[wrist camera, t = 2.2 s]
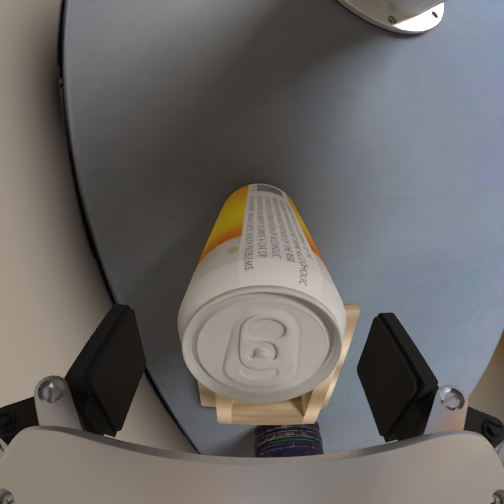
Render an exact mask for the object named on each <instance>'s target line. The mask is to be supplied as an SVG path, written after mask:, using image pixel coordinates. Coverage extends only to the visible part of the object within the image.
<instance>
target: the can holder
mask: <svg viewBox="0 0 504 504" xmlns="http://www.w3.org/2000/svg"><path fill="white" fill-rule="evenodd" d="M344 309H345V313H346V329H345V334H344V338H343V348H342V354H341V357H340V360H339V362H338V364H337V366H336V368H335V369H334V371H333V372H332V373H331V375H330V376H329V377H328V378H327V379H326V380H325V381H324V382H322V383H321V384H320V385H319V386H317V387H316V388H314V389H313V390H311V391H309V392H307V393H305V394H303V395H301V396H298V397H295V398H292V399H289V400H285V401H280V402H273V403H248V402H242V401H237V400H233V399H229V398H226V397H224V396H221V395H219V394H217V393H215V392H213V391H211V390H210V389H208V388H206V387H205V386H204V385H202V384H201V383H200V382H199V381H198V387H199V393H200V399H201V405H202V406H209V407H216V408H217V418H218V423H227V424H246V425H296V424H314V423H315V421H316V419H317V417H318V414H319V412H320V409H321V408H326V406H327V404H328V402H329V399H330V397H331V394H332V392H333V389H334V387H335V384H336V381H337V379H338V376H339V374H340V371H341V368H342V365H343V362H344V360H345V357H346V354H347V351H348V348H349V345H350V342H351V339H352V336H353V333H354V329H355V326H356V323H357V320H358V316H359V313H360V309H359V307H358V305H344Z"/></svg>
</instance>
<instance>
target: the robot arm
mask: <svg viewBox="0 0 504 504" xmlns="http://www.w3.org/2000/svg"><path fill="white" fill-rule="evenodd" d="M338 1H339V2H340V3H341V4H342V5H344V6H345V7H346V8H348V9H349V10H350V11H352V12H353V13H355V14H356V15H358V16H360V17H361V18H363V19H364V20H366V21H368V22H370V23H372V24H375V25H377V26H379V27H381V28H384V29H387V30H390V31H393V32H398V33H403V34H418V33H423V32H425V31H428V30H430V29H432V28H434V27H435V26H437V25H438V24H439V22H440V21H441V19H442V16H443V12H444V4H443V3H444V2H446V1H448V0H338ZM145 366H146V359H145V355H144V351H143V347H142V343H141V339H140V335H139V331H138V326H137V322H136V317H135V313H134V310H133V309H130V307H129V306H128V305H122V304H114V305H113V306H112V308H111V309H110V311H109V312H108V313H107V315H106V316H105V317H104V319H103V320H102V322H101V323H100V324H99V326H98V327H97V329H96V330H95V332H94V333H93V335H92V336H91V337H90V339H89V340H88V342H87V343H86V345H85V346H84V348H83V349H82V351H81V352H80V354H79V355H78V357H77V358H76V360H75V362H74V363H73V365H72V366H71V368H70V369H69V371H68V372H67V375H66V376H65V378H62V377H60V376H48V377H46V378H44V379H42V380H41V381H39V383H38V384H37V385H36V387H35V390H34V397H31V398H28V399H25V400H22V401H19V402H16V403H13V404H10V405H7V406H4V407H1V408H0V504H504V425H503V423H502V422H501V421H500V420H499V419H497V418H496V417H493V416H491V415H488V414H485V413H483V412H480V411H478V410H475V409H473V408H471V407H468V399H467V396H466V394H465V393H464V392H463V391H462V390H461V389H460V388H458V387H456V386H453V385H444V386H441V387H440V388H439V387H438V385H437V384H438V381H437V379H436V377H435V376H434V374H433V372H432V371H431V369H430V367H429V366H428V364H427V363H426V361H425V359H424V358H423V356H422V355H421V353H420V352H419V350H418V349H417V347H416V345H415V344H414V342H413V341H412V339H411V338H410V336H409V335H408V333H407V332H406V330H405V329H404V328H403V326H402V325H401V323H400V322H399V320H398V319H397V317H396V316H395V315H394V313H380V314H378V316H377V317H375V318H374V319H373V322H372V325H371V329H370V332H369V335H368V338H367V340H366V343H365V346H364V349H363V352H362V355H361V357H360V360H359V363H358V366H357V373H358V376H359V378H360V381H361V384H362V386H363V389H364V392H365V394H366V397H367V400H368V403H369V405H370V408H371V411H372V414H373V417H374V420H375V422H376V425H377V428H378V431H379V434H380V435H381V436H384V439H385V442H389V441H393V440H397V439H398V441H396V442H392V443H388V444H383V445H378V446H373V447H368V448H363V449H357V450H351V451H345V452H338V453H330V454H322V455H311V456H298V457H277V458H245V457H224V456H211V455H200V454H191V453H184V452H176V451H170V450H164V449H158V448H153V447H148V446H143V445H139V444H134V443H129V442H125V441H120V440H116V439H113V438H109V437H105V436H103V435H104V434H106V435H109V436H113V437H115V436H116V433H117V431H120V430H121V429H122V427H123V424H124V421H125V418H126V416H127V413H128V410H129V408H130V405H131V402H132V400H133V397H134V395H135V392H136V389H137V387H138V384H139V381H140V379H141V377H142V374H143V372H144V369H145Z"/></svg>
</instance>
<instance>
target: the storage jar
mask: <svg viewBox="0 0 504 504" xmlns="http://www.w3.org/2000/svg"><path fill="white" fill-rule="evenodd" d="M255 436H256V439H255V445H254V452H255V458H277V457H298V456H311V455H322V454H323V448H322V447H323V443H322V438H321V436H320V432H319V424H318V422H317V421H315V423H314V424H296V425H259V426H258V427H257V428H256V431H255Z"/></svg>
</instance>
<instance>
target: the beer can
mask: <svg viewBox="0 0 504 504" xmlns="http://www.w3.org/2000/svg"><path fill="white" fill-rule="evenodd" d="M177 326H178V334H179V338H180V341H181V344H182V354H183V358H184V361H185V363H186V366H187V367H188V369H189V371H190V372H191V373H192V375H193V376H194V377H195V378H196V379H197V380H198V381H199V382H200V383H201V384H202V385H204V386H205V387H206V388H208V389H210V390H211V391H213V392H215V393H217V394H219V395H221V396H224V397H226V398H229V399H233V400H237V401H242V402H248V403H273V402H280V401H285V400H289V399H292V398H295V397H298V396H301V395H303V394H305V393H307V392H309V391H311V390H313V389H314V388H316V387H317V386H319V385H320V384H321V383H322V382H324V381H325V380H326V379H327V378H328V377H329V376H330V375H331V373H332V372H333V371H334V369H335V368H336V366H337V364H338V362H339V360H340V357H341V354H342V348H343V338H344V334H345V329H346V313H345V309H344V305H343V302H342V300H341V298H340V296H339V293H338V291H337V289H336V287H335V285H334V283H333V281H332V278H331V276H330V274H329V272H328V270H327V268H326V266H325V264H324V262H323V260H322V258H321V256H320V254H319V252H318V250H317V248H316V246H315V244H314V242H313V240H312V238H311V236H310V234H309V232H308V230H307V228H306V226H305V224H304V222H303V220H302V218H301V216H300V214H299V212H298V210H297V209H296V207H295V205H294V203H293V201H292V200H291V199H290V197H289V196H288V195H287V194H286V193H285V192H283V191H282V190H280V189H279V188H277V187H274V186H272V185H268V184H250V185H247V186H244V187H242V188H240V189H238V190H236V191H235V192H234V193H232V194H231V195H230V196H229V198H228V199H227V200H226V202H225V203H224V205H223V207H222V210H221V212H220V214H219V216H218V218H217V221H216V223H215V225H214V227H213V230H212V232H211V234H210V237H209V239H208V241H207V243H206V246H205V248H204V250H203V253H202V255H201V257H200V260H199V262H198V265H197V267H196V269H195V272H194V274H193V277H192V279H191V281H190V284H189V286H188V289H187V291H186V294H185V296H184V299H183V301H182V304H181V306H180V309H179V313H178V321H177Z"/></svg>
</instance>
